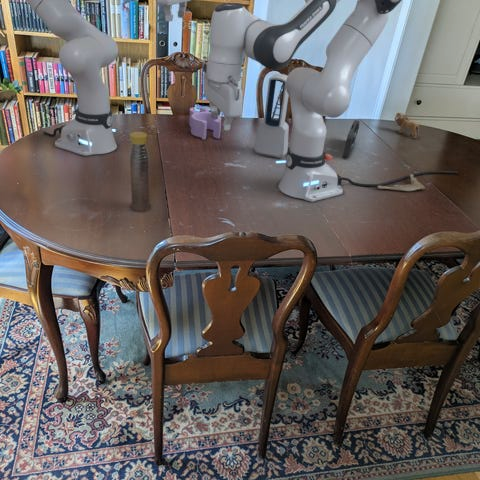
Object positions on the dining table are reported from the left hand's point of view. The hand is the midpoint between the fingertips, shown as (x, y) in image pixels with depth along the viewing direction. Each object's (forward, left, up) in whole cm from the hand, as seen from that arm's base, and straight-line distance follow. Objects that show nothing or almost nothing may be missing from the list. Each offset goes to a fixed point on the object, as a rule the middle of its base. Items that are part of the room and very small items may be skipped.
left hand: (175, 19), depth 144 cm
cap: (+4, -34, -25) cm, 43 cm away
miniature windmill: (+26, +61, -48) cm, 82 cm away
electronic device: (+30, +26, -48) cm, 62 cm away
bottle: (+4, -34, -48) cm, 59 cm away
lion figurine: (+83, +82, -48) cm, 126 cm away
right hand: (+25, -26, -21) cm, 41 cm away
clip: (-2, +37, -48) cm, 61 cm away
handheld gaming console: (+60, +47, -48) cm, 90 cm away
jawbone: (+80, +21, -48) cm, 95 cm away
